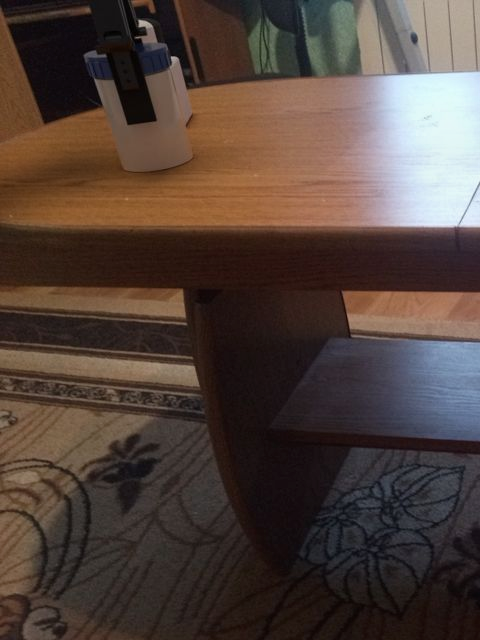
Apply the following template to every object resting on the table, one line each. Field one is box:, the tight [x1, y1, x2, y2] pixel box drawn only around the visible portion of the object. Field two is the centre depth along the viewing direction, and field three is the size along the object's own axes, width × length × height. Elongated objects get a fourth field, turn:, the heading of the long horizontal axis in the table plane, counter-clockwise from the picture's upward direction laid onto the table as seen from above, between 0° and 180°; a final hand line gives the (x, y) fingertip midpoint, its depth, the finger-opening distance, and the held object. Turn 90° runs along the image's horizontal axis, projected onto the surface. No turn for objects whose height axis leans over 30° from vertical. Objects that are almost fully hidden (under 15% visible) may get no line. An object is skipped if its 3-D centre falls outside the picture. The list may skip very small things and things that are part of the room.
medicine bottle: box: [135, 17, 193, 126], centre depth 89 cm, size 7×7×12 cm
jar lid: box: [83, 43, 172, 79], centre depth 72 cm, size 8×8×2 cm
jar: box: [93, 67, 194, 173], centre depth 75 cm, size 7×7×11 cm
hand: (144, 113), depth 75 cm, fingers closed on jar lid, 8 cm apart
